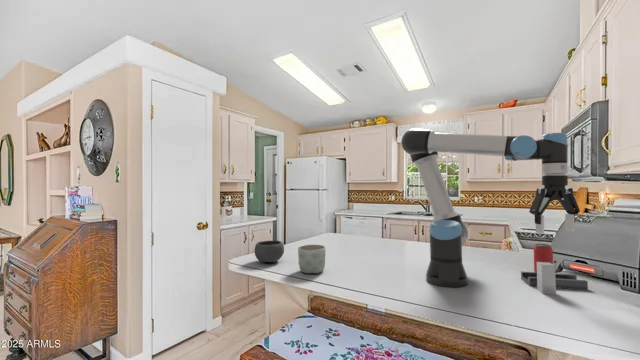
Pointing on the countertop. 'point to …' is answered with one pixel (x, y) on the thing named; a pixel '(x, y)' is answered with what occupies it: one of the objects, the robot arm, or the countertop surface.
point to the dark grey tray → (557, 280)
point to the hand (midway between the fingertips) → (555, 232)
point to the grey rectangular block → (546, 278)
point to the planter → (311, 258)
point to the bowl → (269, 251)
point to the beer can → (542, 254)
